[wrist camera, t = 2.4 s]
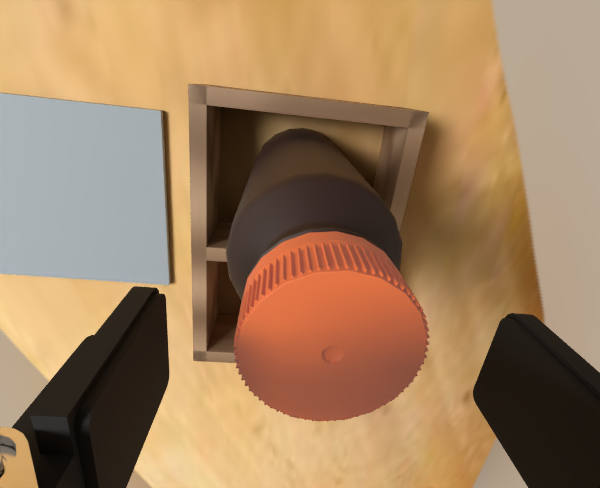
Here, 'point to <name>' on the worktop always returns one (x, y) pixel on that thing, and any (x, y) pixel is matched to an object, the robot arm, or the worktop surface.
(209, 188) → the rack
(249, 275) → the vinegar
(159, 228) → the mat
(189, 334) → the worktop surface
